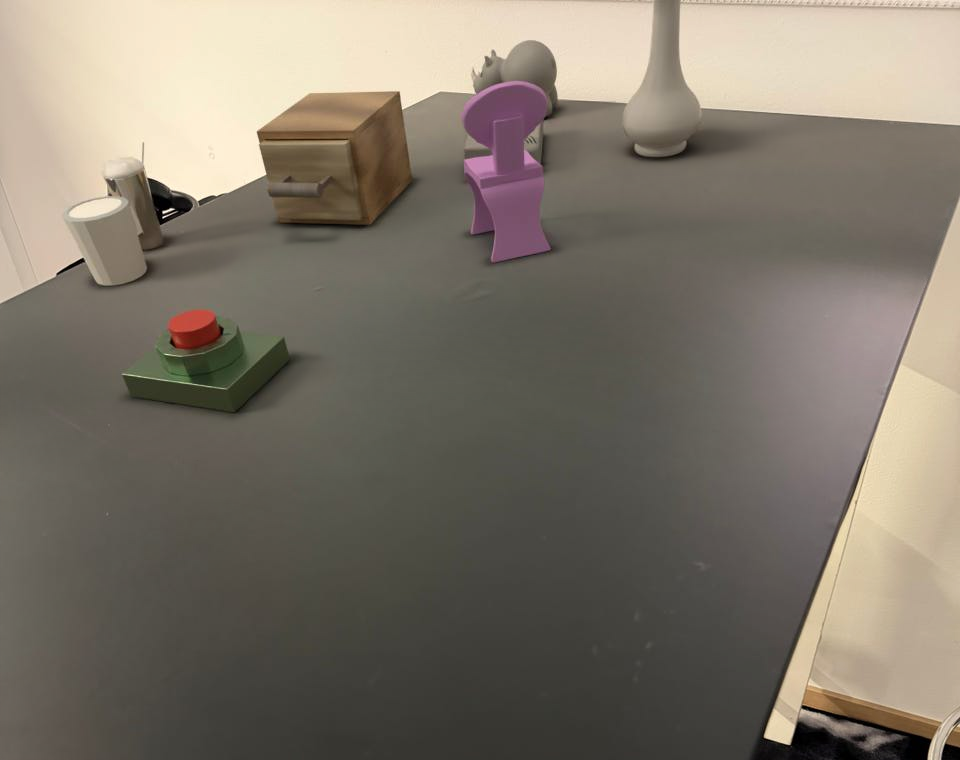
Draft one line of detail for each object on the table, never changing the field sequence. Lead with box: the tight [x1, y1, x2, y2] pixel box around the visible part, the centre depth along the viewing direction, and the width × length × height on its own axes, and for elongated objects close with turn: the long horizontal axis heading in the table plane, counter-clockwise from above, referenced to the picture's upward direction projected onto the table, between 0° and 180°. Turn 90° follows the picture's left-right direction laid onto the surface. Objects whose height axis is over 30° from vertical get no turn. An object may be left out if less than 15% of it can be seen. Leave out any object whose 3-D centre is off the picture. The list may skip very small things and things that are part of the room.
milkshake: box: [101, 141, 165, 251], centre depth 97 cm, size 4×5×10 cm
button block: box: [121, 316, 291, 413], centre depth 75 cm, size 11×9×4 cm
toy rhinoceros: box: [470, 39, 559, 118], centre depth 118 cm, size 7×12×8 cm, turn 72°
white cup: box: [61, 195, 148, 286], centre depth 93 cm, size 7×7×7 cm
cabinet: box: [256, 90, 413, 226], centre depth 101 cm, size 14×12×10 cm
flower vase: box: [621, 0, 703, 158], centre depth 97 cm, size 13×18×25 cm
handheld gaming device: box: [463, 120, 544, 165], centre depth 108 cm, size 9×15×4 cm, turn 175°
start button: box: [167, 308, 221, 349], centre depth 74 cm, size 4×4×2 cm
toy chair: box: [461, 81, 552, 263], centre depth 86 cm, size 8×9×15 cm
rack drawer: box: [258, 139, 364, 220], centre depth 98 cm, size 17×10×8 cm, turn 162°
